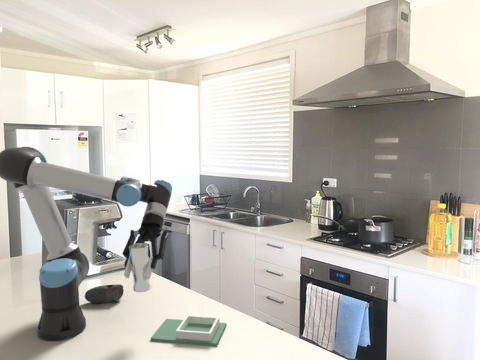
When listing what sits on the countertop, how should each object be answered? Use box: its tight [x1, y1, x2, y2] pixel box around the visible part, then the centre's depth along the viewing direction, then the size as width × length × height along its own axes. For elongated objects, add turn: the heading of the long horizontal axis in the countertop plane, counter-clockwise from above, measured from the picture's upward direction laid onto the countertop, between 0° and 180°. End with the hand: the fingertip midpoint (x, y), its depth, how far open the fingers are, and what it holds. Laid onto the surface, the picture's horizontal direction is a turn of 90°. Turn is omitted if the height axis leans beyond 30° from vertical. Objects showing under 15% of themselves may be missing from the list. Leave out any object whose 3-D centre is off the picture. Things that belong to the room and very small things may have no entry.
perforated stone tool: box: [84, 283, 124, 304], centre depth 158 cm, size 15×5×7 cm, turn 94°
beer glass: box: [129, 242, 152, 293], centre depth 132 cm, size 7×7×15 cm
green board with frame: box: [150, 314, 227, 347], centre depth 132 cm, size 22×14×3 cm, turn 79°
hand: (136, 276), depth 129 cm, fingers closed on beer glass, 7 cm apart
